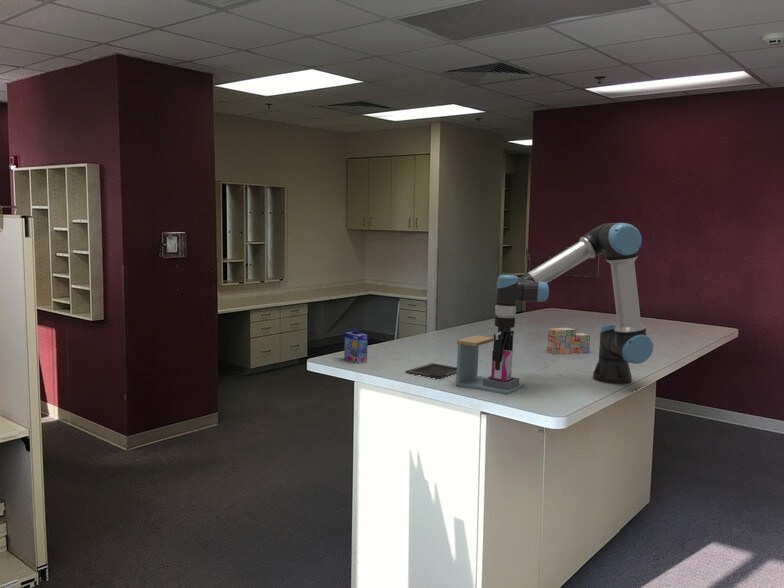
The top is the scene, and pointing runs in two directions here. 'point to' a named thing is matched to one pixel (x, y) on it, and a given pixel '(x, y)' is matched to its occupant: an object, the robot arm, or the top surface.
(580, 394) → the top surface
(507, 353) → the supplement box
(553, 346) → the stack of blocks
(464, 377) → the socket stand
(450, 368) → the picture frame
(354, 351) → the ink cartridge box
